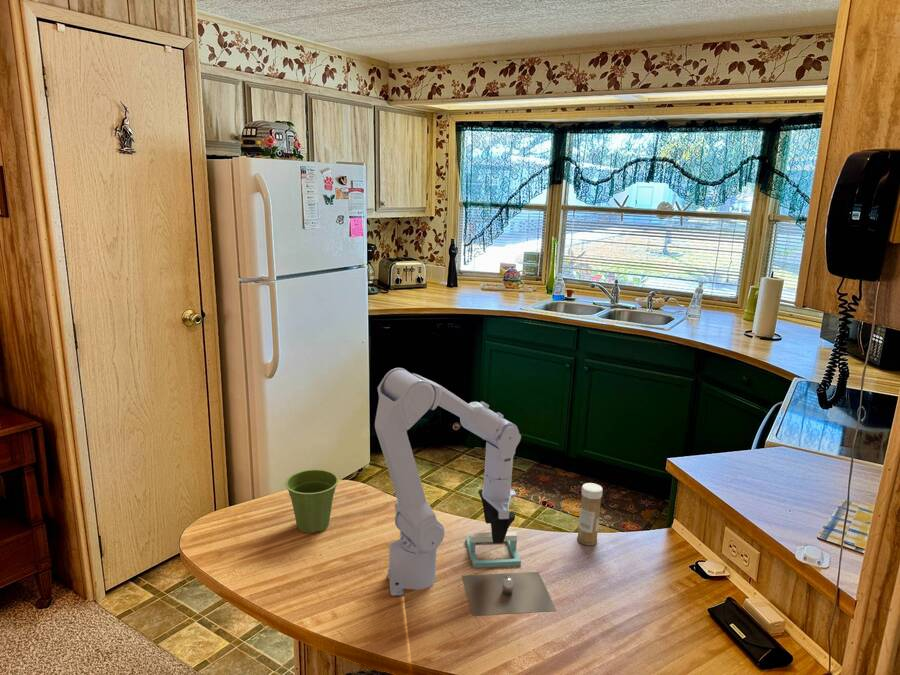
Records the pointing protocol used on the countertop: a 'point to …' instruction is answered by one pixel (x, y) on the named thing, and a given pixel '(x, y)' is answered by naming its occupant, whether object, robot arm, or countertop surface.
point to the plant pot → (312, 498)
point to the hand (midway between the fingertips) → (494, 532)
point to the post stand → (507, 593)
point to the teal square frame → (487, 537)
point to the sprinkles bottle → (589, 513)
